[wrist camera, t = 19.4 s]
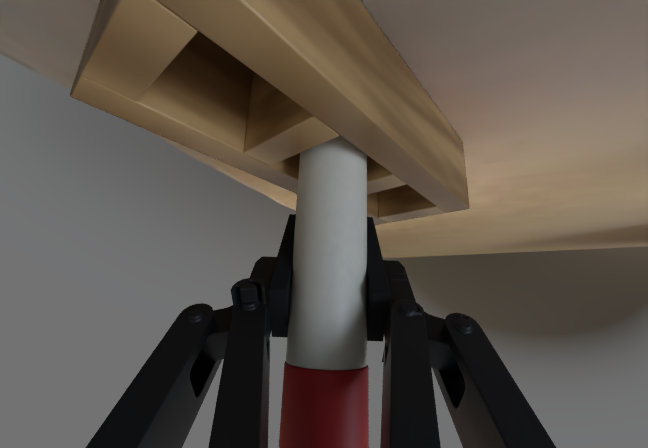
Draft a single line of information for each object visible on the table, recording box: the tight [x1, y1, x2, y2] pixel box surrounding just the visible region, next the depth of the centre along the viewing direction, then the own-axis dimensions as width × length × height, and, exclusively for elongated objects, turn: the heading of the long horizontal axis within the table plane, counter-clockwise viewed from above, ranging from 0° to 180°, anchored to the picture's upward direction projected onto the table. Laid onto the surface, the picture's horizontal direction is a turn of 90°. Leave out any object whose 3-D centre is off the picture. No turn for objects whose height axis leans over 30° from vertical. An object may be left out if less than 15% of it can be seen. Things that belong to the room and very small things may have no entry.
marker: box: [279, 135, 369, 448], centre depth 14 cm, size 4×4×14 cm
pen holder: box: [70, 0, 469, 225], centre depth 16 cm, size 8×20×5 cm, turn 40°
